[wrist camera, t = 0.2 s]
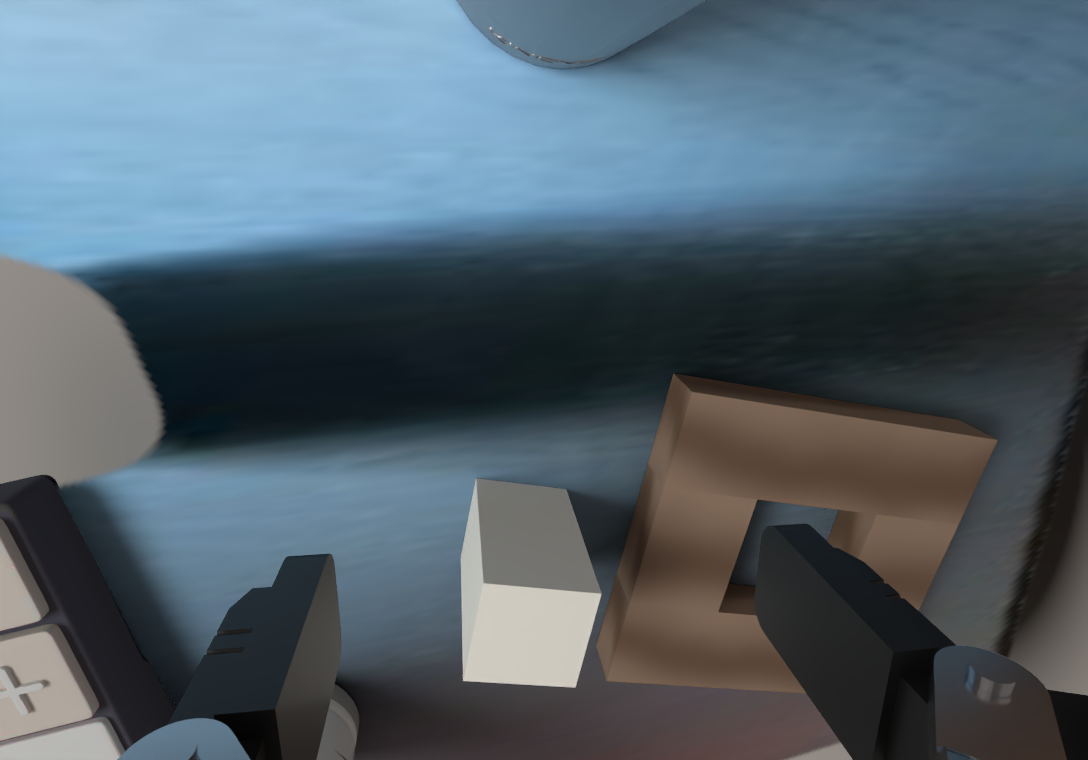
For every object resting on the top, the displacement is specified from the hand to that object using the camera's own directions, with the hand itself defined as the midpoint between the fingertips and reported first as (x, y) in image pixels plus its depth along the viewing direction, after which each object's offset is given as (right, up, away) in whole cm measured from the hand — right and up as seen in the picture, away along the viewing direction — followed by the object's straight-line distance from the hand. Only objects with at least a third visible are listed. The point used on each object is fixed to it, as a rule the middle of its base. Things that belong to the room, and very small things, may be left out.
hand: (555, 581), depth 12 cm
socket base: (+12, -5, +22) cm, 26 cm away
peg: (-2, -3, +20) cm, 20 cm away
